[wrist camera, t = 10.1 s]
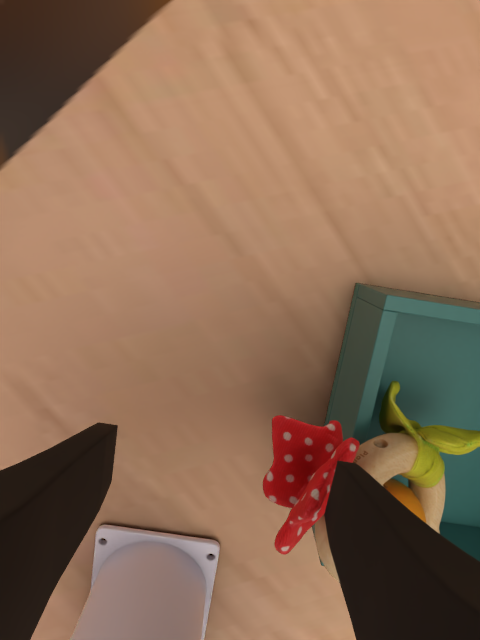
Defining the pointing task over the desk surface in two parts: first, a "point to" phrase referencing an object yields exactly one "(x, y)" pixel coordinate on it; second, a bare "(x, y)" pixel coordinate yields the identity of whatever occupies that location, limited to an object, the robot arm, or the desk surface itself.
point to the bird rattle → (373, 456)
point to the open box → (416, 384)
